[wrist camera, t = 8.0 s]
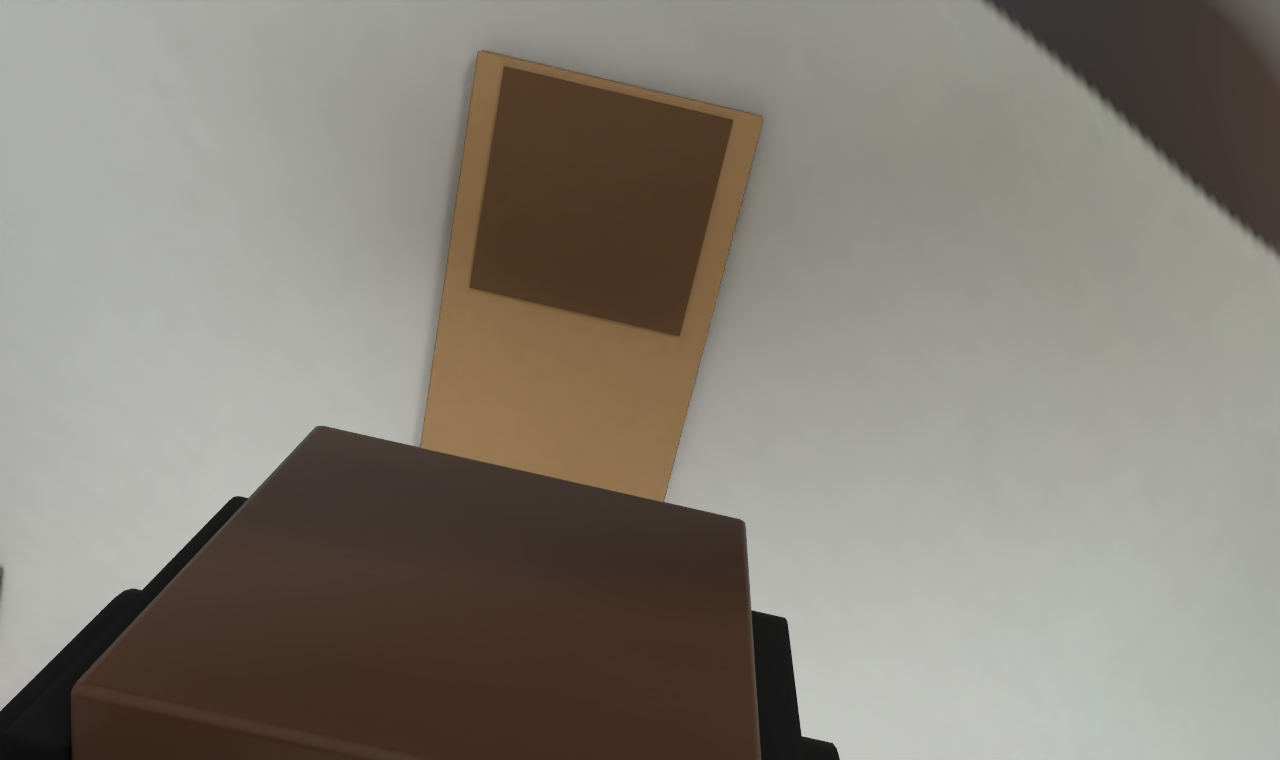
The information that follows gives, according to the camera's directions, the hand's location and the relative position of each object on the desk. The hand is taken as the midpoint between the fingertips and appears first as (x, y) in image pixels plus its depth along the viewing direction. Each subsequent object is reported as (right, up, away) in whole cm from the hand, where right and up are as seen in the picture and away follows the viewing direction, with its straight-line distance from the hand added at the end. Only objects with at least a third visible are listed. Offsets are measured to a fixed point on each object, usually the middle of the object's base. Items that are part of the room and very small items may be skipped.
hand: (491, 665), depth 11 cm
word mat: (-1, +2, +15) cm, 15 cm away
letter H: (0, 0, 0) cm, 0 cm away
